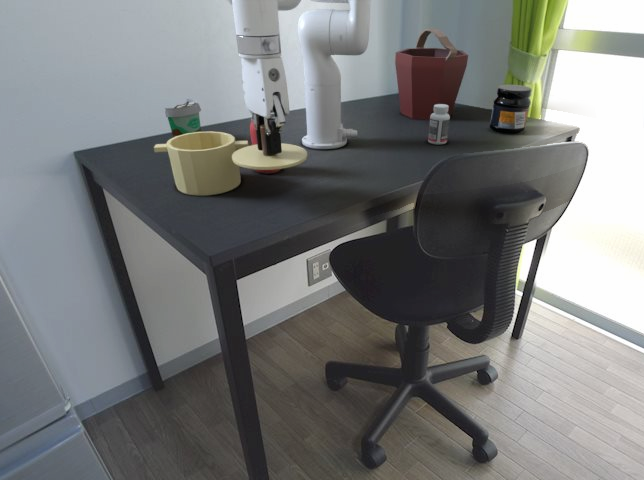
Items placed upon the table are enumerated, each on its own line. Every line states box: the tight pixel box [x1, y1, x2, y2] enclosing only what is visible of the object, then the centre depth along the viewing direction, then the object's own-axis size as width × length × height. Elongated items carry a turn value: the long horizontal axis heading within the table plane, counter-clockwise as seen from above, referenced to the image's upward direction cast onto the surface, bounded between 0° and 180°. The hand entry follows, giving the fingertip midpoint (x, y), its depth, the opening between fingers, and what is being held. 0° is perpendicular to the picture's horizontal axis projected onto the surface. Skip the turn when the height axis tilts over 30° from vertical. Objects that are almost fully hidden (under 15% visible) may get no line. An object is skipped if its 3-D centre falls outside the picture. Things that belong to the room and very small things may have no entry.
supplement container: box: [489, 84, 532, 135], centre depth 134 cm, size 10×10×12 cm
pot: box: [153, 130, 249, 197], centre depth 98 cm, size 14×19×10 cm
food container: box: [164, 98, 202, 138], centre depth 123 cm, size 12×6×10 cm, turn 168°
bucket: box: [394, 28, 469, 121], centre depth 146 cm, size 24×22×25 cm
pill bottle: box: [427, 104, 451, 145], centre depth 124 cm, size 5×5×10 cm
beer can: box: [249, 116, 282, 175], centre depth 105 cm, size 7×7×12 cm
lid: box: [232, 124, 308, 170], centre depth 88 cm, size 15×15×7 cm
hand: (269, 150), depth 89 cm, fingers closed on lid, 2 cm apart
